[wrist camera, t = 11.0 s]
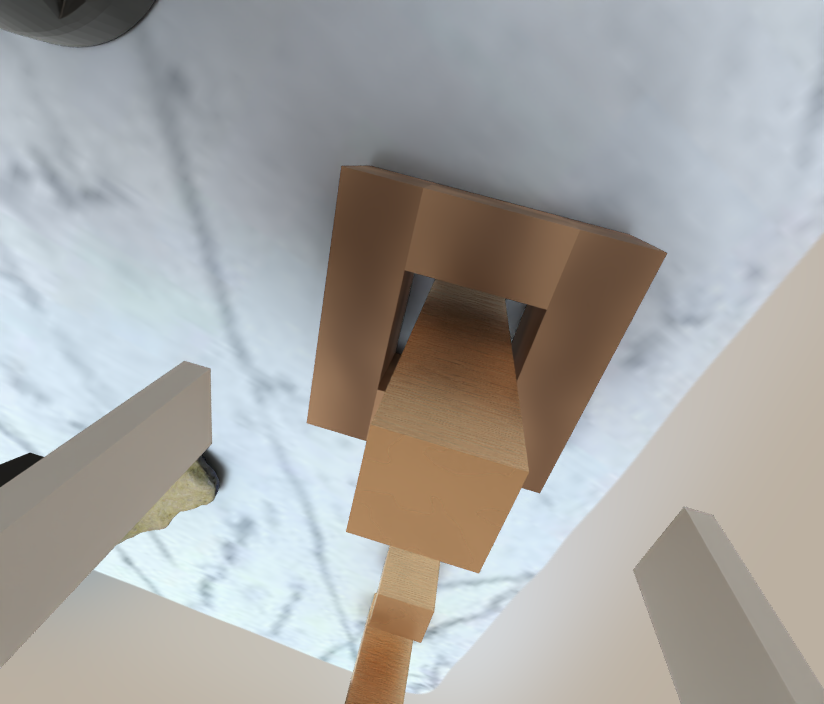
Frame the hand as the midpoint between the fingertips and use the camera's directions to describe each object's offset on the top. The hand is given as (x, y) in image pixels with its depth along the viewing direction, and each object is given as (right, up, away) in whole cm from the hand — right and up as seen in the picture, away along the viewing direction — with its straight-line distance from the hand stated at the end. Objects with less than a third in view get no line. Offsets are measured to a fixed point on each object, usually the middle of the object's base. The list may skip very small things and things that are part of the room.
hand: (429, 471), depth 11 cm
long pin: (+2, +5, +12) cm, 13 cm away
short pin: (-1, -13, +21) cm, 25 cm away
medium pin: (-2, -20, +25) cm, 32 cm away
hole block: (+2, +5, +12) cm, 13 cm away
